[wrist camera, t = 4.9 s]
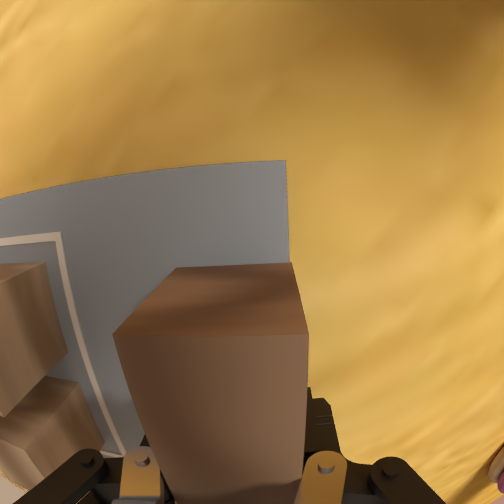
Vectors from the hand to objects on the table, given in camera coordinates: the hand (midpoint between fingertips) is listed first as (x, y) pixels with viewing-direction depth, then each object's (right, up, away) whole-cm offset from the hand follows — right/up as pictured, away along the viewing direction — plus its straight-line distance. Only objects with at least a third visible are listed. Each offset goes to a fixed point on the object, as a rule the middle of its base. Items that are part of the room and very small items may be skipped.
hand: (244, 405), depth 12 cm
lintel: (0, 0, 0) cm, 0 cm away
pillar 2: (-12, -3, +3) cm, 13 cm away
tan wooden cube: (-12, +3, +2) cm, 13 cm away
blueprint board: (-9, +1, +3) cm, 9 cm away
